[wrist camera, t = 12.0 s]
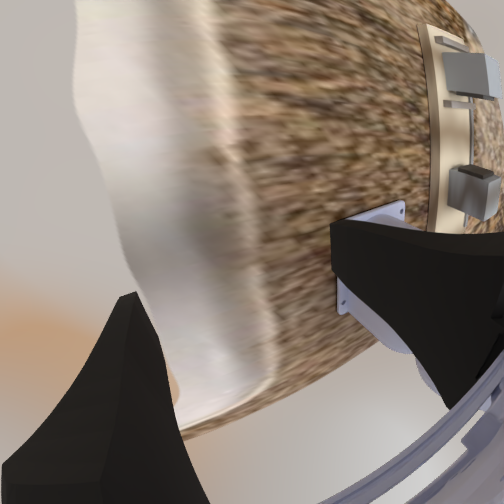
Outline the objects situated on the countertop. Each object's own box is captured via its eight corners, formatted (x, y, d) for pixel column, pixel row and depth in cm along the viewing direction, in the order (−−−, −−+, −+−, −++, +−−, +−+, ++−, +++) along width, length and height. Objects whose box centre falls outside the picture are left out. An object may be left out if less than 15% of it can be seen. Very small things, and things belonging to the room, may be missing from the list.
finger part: (464, 96, 21) (502, 102, 17) (447, 93, 20) (489, 99, 16) (459, 58, 19) (498, 61, 14) (441, 52, 18) (484, 53, 13)
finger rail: (458, 228, 30) (494, 247, 25) (424, 247, 28) (466, 271, 23) (454, 39, 19) (499, 41, 14) (416, 24, 17) (470, 20, 12)
